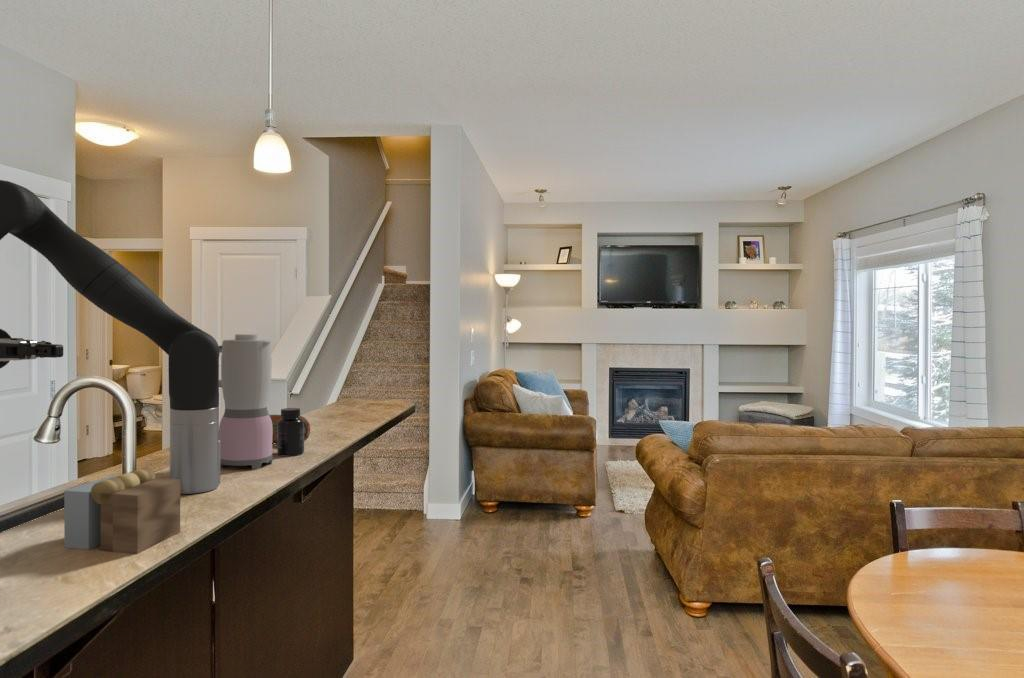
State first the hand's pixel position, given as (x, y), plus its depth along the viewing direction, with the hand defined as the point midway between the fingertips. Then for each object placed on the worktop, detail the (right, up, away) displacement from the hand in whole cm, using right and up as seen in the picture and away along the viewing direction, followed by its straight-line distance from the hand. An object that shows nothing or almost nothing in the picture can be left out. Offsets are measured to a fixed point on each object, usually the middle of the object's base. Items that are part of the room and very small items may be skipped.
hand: (59, 351), depth 110 cm
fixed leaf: (+18, -31, -7) cm, 36 cm away
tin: (+13, -28, +72) cm, 78 cm away
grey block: (+13, -31, -6) cm, 34 cm away
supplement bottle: (+20, -29, +59) cm, 68 cm away
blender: (+12, -29, +46) cm, 55 cm away
